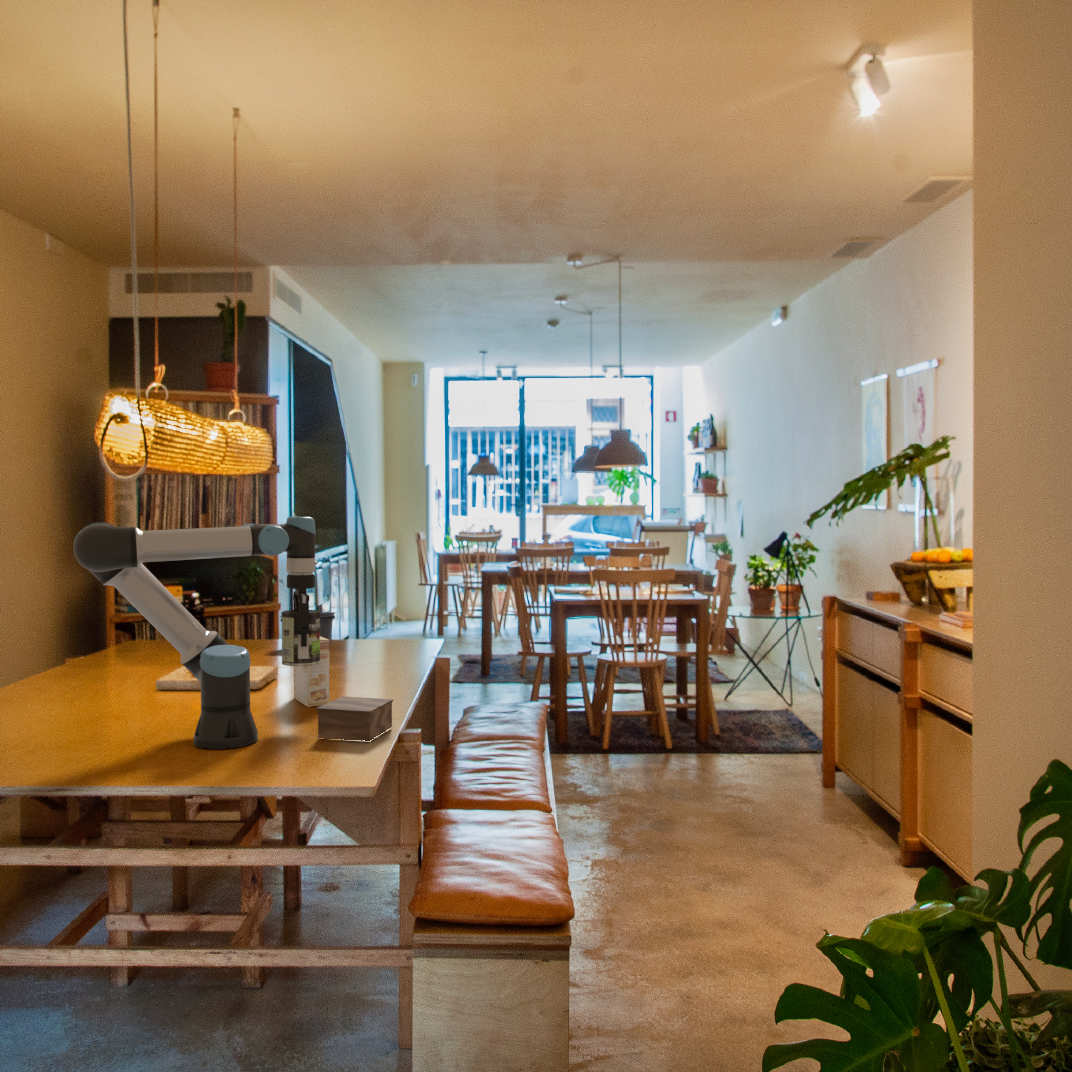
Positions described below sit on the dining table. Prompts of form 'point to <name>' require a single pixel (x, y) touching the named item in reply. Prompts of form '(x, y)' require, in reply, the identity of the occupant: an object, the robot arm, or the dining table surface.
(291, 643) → the coffee can
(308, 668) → the coffeecake box
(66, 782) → the dining table surface
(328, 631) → the storage bin
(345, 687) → the dining table surface
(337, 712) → the walnut box
